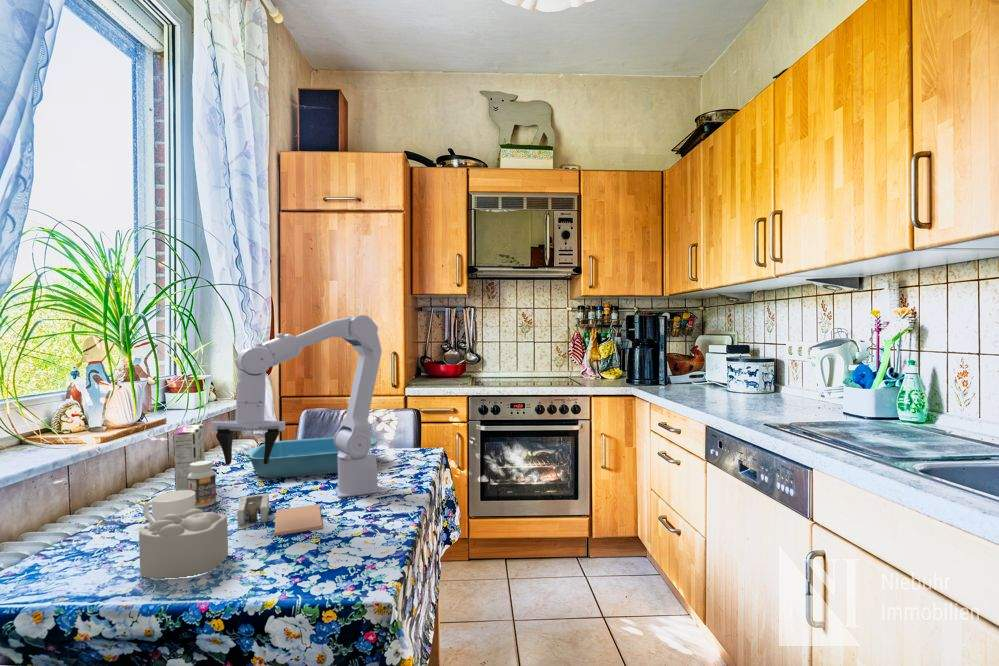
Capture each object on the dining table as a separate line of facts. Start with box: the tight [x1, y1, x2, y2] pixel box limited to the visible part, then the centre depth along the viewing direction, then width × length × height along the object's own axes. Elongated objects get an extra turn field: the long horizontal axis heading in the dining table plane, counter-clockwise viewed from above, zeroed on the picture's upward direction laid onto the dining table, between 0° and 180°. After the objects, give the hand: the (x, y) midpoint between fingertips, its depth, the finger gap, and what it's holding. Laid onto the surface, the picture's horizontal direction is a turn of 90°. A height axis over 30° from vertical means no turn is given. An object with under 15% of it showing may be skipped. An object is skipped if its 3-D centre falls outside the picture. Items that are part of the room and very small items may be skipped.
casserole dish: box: [244, 436, 378, 479], centre depth 152 cm, size 37×22×7 cm, turn 102°
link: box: [236, 492, 270, 527], centre depth 113 cm, size 6×10×3 cm, turn 22°
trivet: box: [273, 503, 323, 537], centre depth 110 cm, size 9×14×1 cm, turn 22°
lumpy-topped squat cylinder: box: [138, 508, 229, 579], centre depth 89 cm, size 10×13×9 cm
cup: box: [142, 490, 196, 523], centre depth 107 cm, size 8×10×7 cm
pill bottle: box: [187, 460, 217, 509], centre depth 121 cm, size 6×6×10 cm
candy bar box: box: [172, 423, 206, 491], centre depth 131 cm, size 11×5×16 cm, turn 20°
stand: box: [247, 501, 259, 524], centre depth 109 cm, size 2×2×4 cm
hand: (247, 463), depth 113 cm, fingers open, 7 cm apart
